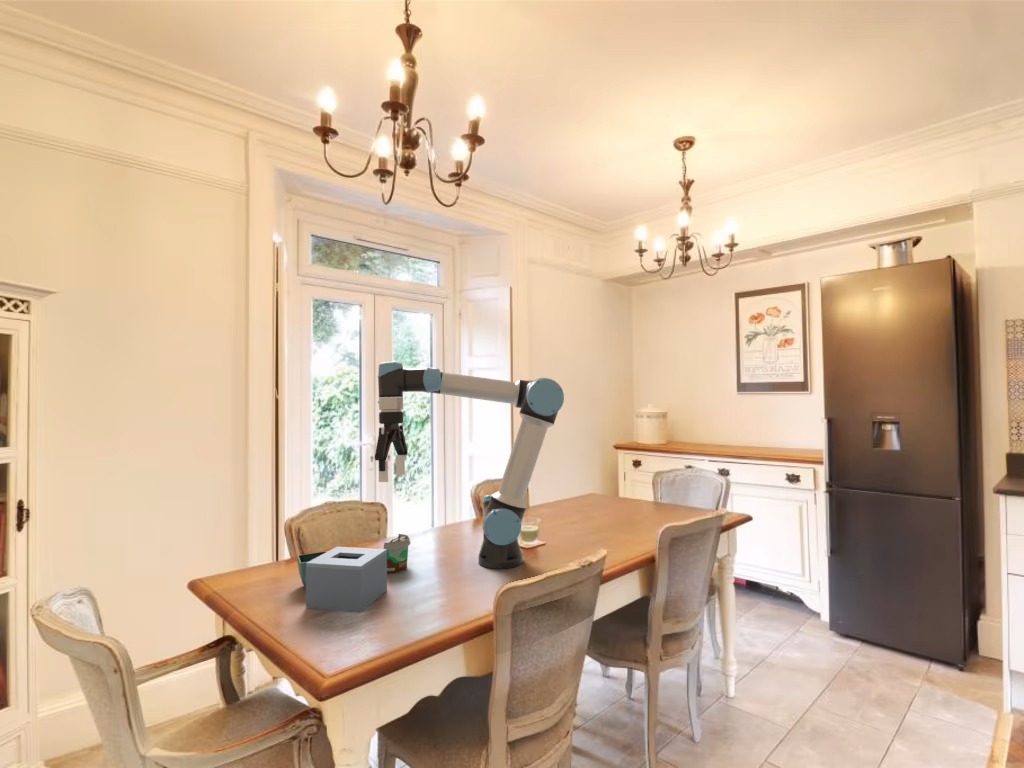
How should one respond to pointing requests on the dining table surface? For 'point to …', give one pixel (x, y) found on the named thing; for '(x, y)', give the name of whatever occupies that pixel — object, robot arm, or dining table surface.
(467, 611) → the dining table surface
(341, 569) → the coin box
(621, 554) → the dining table surface
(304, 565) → the flower pot
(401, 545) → the food container
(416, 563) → the dining table surface
